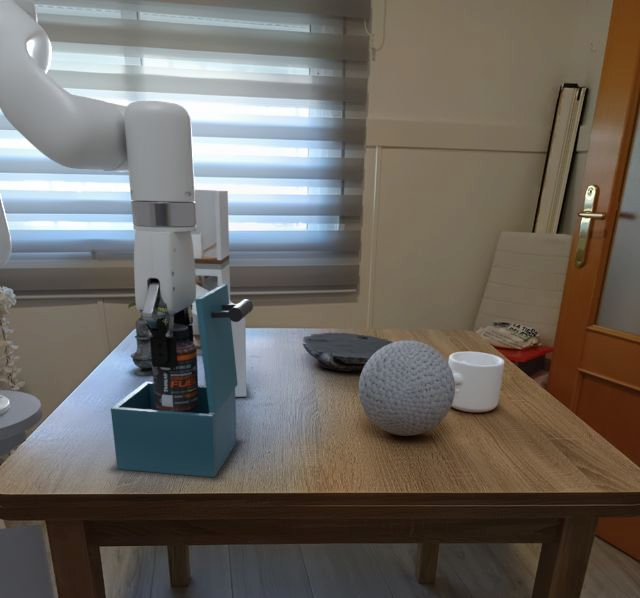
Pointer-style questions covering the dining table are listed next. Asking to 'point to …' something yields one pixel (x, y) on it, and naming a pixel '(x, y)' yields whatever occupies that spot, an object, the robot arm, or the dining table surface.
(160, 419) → the case
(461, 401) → the mug
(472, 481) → the dining table surface
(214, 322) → the case lid
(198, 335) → the display case
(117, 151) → the robot arm
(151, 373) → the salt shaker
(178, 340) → the supplement bottle
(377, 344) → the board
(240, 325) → the milk carton
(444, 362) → the decorative ball
